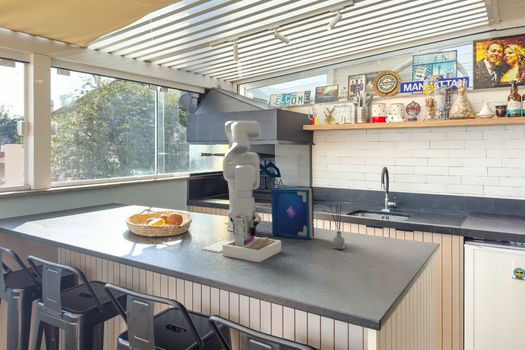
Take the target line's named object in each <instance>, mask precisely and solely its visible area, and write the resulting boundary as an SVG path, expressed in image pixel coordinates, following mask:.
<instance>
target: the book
mask: <svg viewBox="0 0 525 350" xmlns="http://www.w3.org/2000/svg"><path fill="white" fill-rule="evenodd" d="M270 199H271V201H270V202H271V204H270V205H271V231H272V232H271V233H272V236H277V237H278V236H279V237H283V238H289V239H296V240H297V239H298V240H299V239H300V240H311V239H313V238H315V226H314V224H315V223H314V222H315V221H314V220H315V219H314V216H315V215H314V189H313V187H304V186H303V187H302V186H301V187H299V186H295V187H294V186H289V187H274V188H272V189H271V190H270Z"/></svg>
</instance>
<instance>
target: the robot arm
mask: <svg viewBox="0 0 525 350" xmlns="http://www.w3.org/2000/svg"><path fill="white" fill-rule="evenodd" d="M224 132H225V135H226V138H227V141H228V143H229V149H228V150H227V151H226V153H225V154H224V157H223V160H222V174H223V179H224V180H225V181H227V186H228V197H229V198H228V199H229V213H228V214H227V217H228V219H229V220H225V222H224V225H228V226H227V227H226V230H227V231H229V232H233V235H235V233H234V217H235V216H237V215H240V216H246V221H247V222H249V223H250V225H251V227H250V236H251V237H252V236H254V237H256V234H257V227H258V225H259V224H260V222H261V221H262V219H263V218H262V216H261V215H259V213H257V209H256V202H255V200H256V199H255V197H254V190H257V189H258V188H259V187H260V181H261V180H260V178H261V177H260V156H259V154H258V153H257V152H251V151H250V149H251V148H250V147H251V145H250V140H253V139H255V140H256V139H257V140H258V139H260V137H261V134H262V130H261V125H260V122H258V121H256V120H230V121H227V122H225V124H224ZM249 151H250V152H249Z"/></svg>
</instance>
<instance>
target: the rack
mask: <svg viewBox="0 0 525 350" xmlns="http://www.w3.org/2000/svg"><path fill="white" fill-rule="evenodd" d="M261 238H262V237H257V236H254V241H256V240H258V239H261ZM269 240H271V241H274V243H272V244H270V245H268V246H266V247H264V248H261V249H259V250H255V249H249V248H248V245H246V246H243V247H237V246H235V239H233V240H232V241H231V240H230V241H231V242H229V243H226V244H223V252H222V256H223V257H230V258H235V259H240V260H245V261H251V262H256V263H260V262H262V261H265V260H267V259H268V258H270V257H272V256H274V255H276V254H278V253H280V252H282V240H279V239H272V238H269Z"/></svg>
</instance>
